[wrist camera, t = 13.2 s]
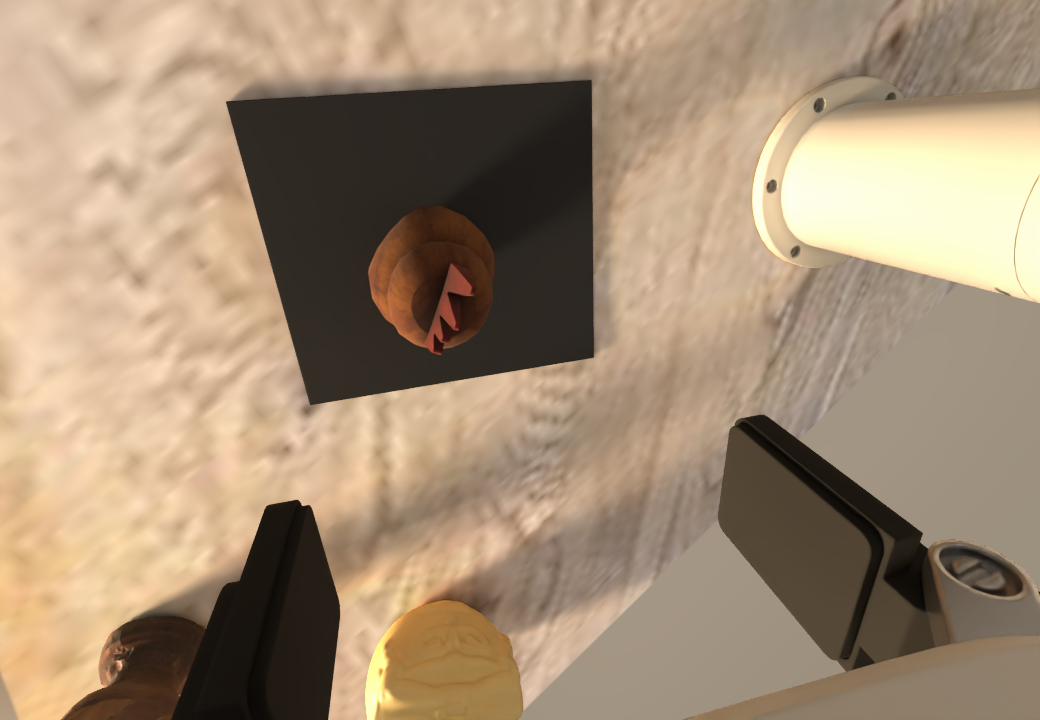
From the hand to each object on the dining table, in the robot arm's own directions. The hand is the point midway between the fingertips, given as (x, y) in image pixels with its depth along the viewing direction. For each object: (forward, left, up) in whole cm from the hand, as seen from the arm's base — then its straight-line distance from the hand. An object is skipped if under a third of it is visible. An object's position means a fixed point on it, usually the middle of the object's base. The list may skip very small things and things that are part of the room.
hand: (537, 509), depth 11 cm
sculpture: (+5, +32, -24) cm, 40 cm away
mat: (0, -1, -24) cm, 24 cm away
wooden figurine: (+1, -1, -24) cm, 24 cm away
